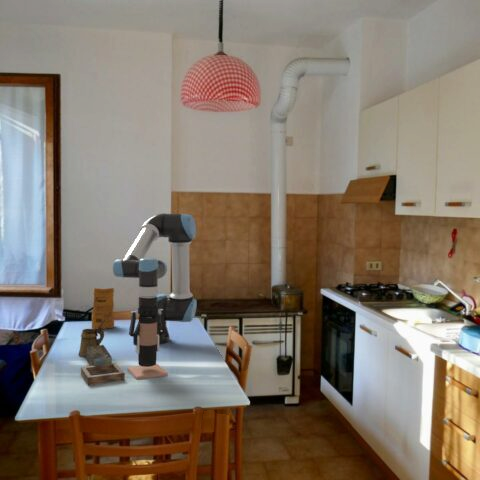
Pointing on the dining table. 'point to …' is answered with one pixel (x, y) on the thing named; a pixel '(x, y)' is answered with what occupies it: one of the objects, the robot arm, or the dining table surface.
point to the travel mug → (147, 341)
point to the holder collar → (104, 378)
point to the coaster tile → (147, 371)
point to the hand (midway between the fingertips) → (147, 351)
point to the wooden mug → (91, 338)
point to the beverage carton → (98, 355)
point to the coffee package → (103, 308)
